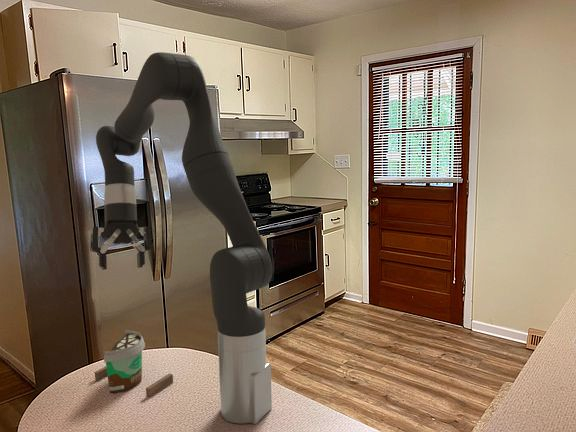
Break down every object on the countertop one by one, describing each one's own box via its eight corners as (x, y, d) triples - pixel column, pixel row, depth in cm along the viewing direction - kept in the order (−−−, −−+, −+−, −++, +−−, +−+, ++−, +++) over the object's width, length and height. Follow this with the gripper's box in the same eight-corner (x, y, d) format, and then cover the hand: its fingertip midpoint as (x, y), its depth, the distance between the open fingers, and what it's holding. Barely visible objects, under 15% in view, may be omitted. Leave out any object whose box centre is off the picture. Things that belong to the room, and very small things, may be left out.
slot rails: (173, 382, 98) (172, 374, 98) (149, 398, 92) (149, 389, 92) (120, 367, 106) (119, 359, 106) (95, 380, 100) (94, 371, 100)
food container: (135, 397, 93) (132, 352, 91) (106, 397, 93) (103, 352, 92) (154, 369, 105) (152, 329, 104) (129, 369, 105) (126, 329, 104)
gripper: (93, 200, 103) (94, 269, 101) (153, 202, 112) (156, 266, 109) (87, 206, 109) (88, 271, 107) (144, 207, 118) (147, 268, 115)
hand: (122, 268), depth 108 cm, fingers open, 8 cm apart
